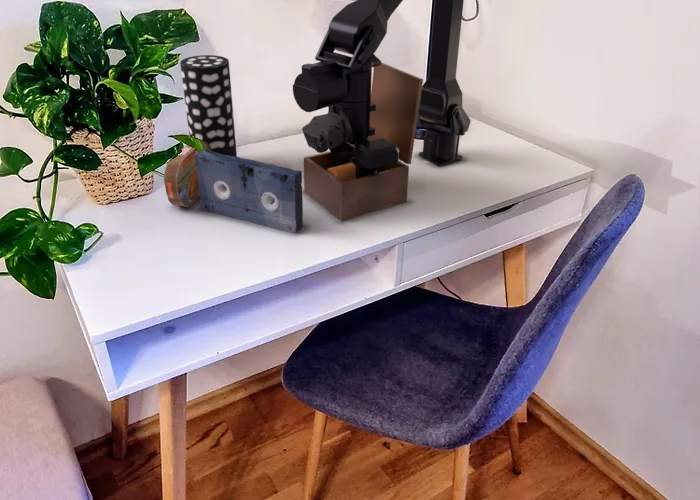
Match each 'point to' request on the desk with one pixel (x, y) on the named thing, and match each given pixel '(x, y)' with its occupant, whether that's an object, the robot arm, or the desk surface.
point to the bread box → (354, 187)
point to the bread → (344, 172)
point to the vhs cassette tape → (250, 190)
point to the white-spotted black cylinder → (209, 101)
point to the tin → (183, 177)
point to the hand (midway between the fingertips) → (351, 185)
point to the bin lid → (395, 108)
